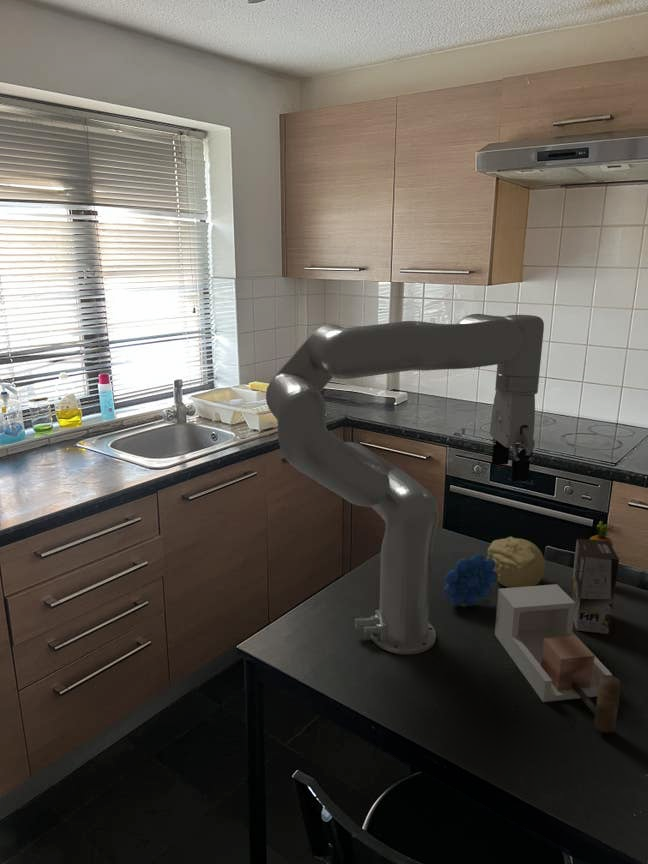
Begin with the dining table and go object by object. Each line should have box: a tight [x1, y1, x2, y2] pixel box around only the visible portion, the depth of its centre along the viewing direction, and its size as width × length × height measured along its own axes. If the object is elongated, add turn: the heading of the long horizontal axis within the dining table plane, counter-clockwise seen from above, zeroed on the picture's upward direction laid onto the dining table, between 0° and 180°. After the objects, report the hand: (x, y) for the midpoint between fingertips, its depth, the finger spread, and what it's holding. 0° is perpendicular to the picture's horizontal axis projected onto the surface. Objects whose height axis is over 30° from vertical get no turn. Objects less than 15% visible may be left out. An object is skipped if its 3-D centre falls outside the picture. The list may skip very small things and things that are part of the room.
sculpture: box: [486, 536, 546, 588], centre depth 145 cm, size 12×12×11 cm
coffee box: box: [570, 538, 620, 635], centre depth 129 cm, size 9×6×16 cm
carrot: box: [588, 520, 614, 548], centre depth 144 cm, size 5×5×15 cm
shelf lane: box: [494, 583, 613, 703], centre depth 116 cm, size 12×20×10 cm, turn 9°
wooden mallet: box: [541, 635, 622, 733], centre depth 106 cm, size 6×16×8 cm, turn 9°
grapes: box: [443, 553, 498, 607], centre depth 136 cm, size 12×7×12 cm, turn 98°
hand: (509, 472), depth 122 cm, fingers open, 9 cm apart
